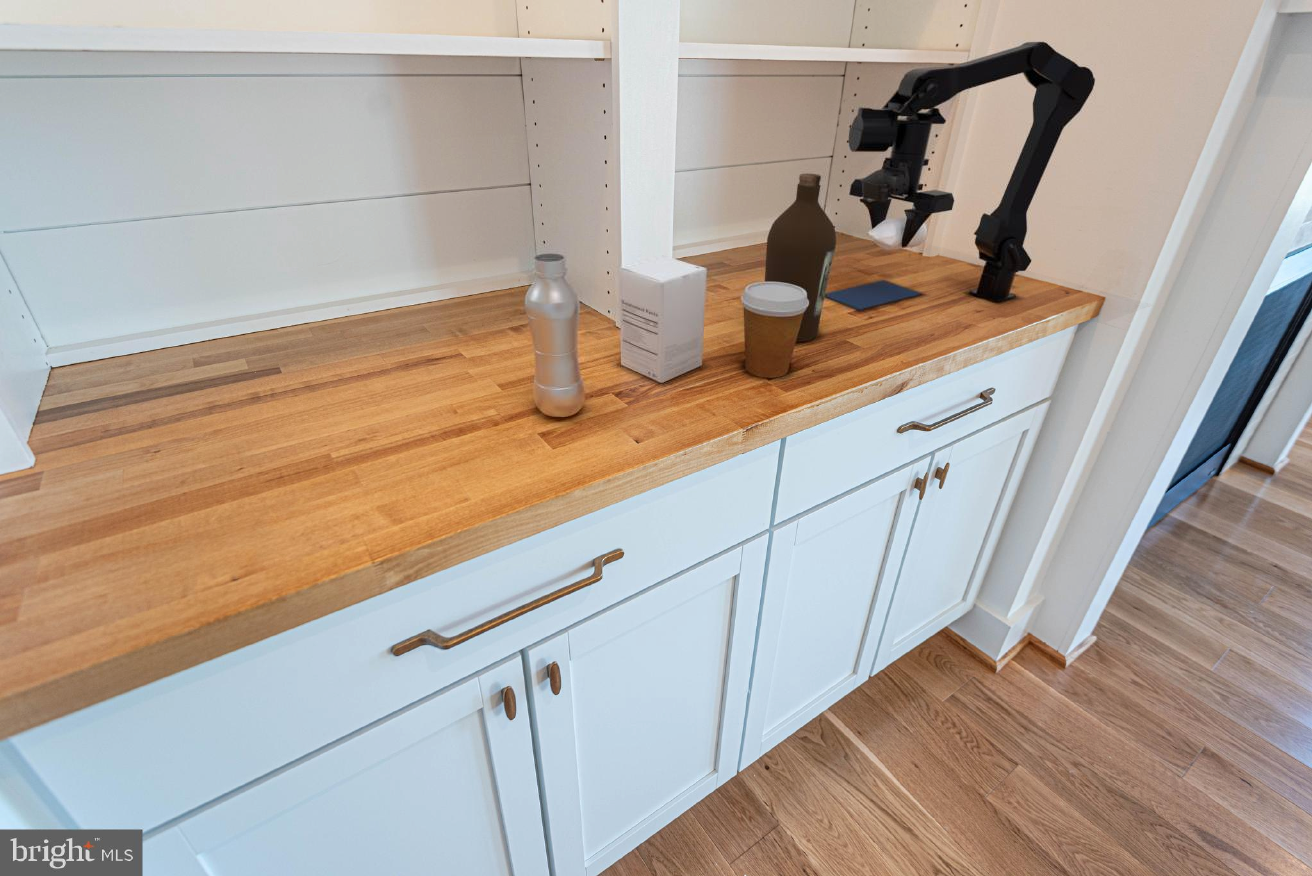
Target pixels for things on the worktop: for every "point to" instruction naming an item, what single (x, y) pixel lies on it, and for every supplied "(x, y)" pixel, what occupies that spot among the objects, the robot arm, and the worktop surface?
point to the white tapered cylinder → (895, 234)
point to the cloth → (871, 295)
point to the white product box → (662, 317)
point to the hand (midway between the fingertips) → (889, 242)
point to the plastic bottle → (554, 337)
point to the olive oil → (803, 251)
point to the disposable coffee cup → (771, 326)
